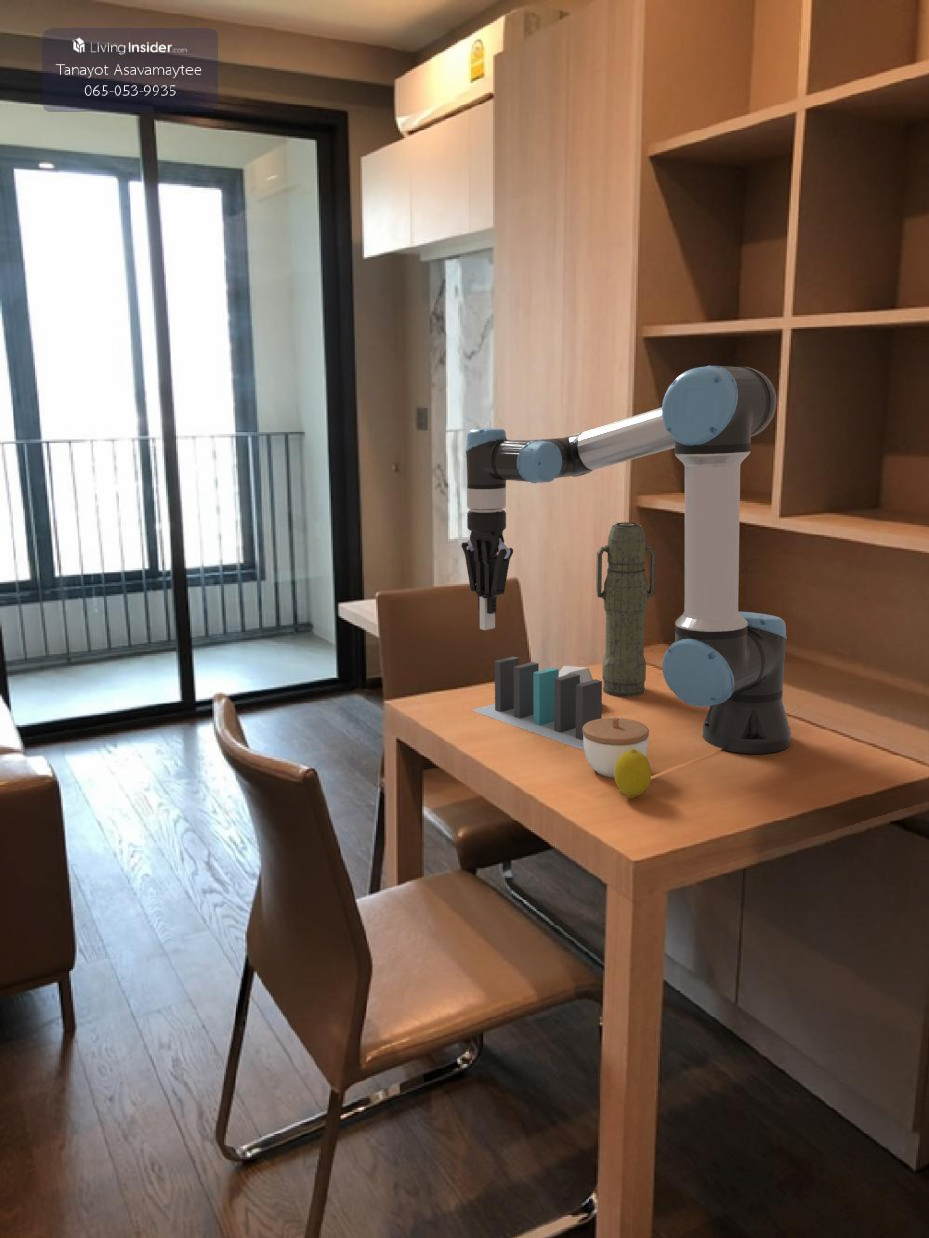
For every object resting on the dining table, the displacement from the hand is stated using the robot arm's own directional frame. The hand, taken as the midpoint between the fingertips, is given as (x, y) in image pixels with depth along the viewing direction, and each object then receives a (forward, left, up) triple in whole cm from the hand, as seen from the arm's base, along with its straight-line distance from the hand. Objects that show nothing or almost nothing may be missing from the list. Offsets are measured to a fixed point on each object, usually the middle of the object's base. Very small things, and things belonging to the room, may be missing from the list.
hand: (487, 628), depth 200 cm
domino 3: (-22, 0, -15) cm, 27 cm away
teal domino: (-17, 0, -15) cm, 23 cm away
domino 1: (-6, 0, -15) cm, 16 cm away
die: (-12, -12, -16) cm, 23 cm away
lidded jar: (-42, +9, -16) cm, 46 cm away
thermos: (-12, -27, -16) cm, 34 cm away
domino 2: (-11, 0, -15) cm, 19 cm away
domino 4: (-28, 0, -15) cm, 32 cm away
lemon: (-51, +15, -16) cm, 56 cm away
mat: (-17, 0, -16) cm, 23 cm away
